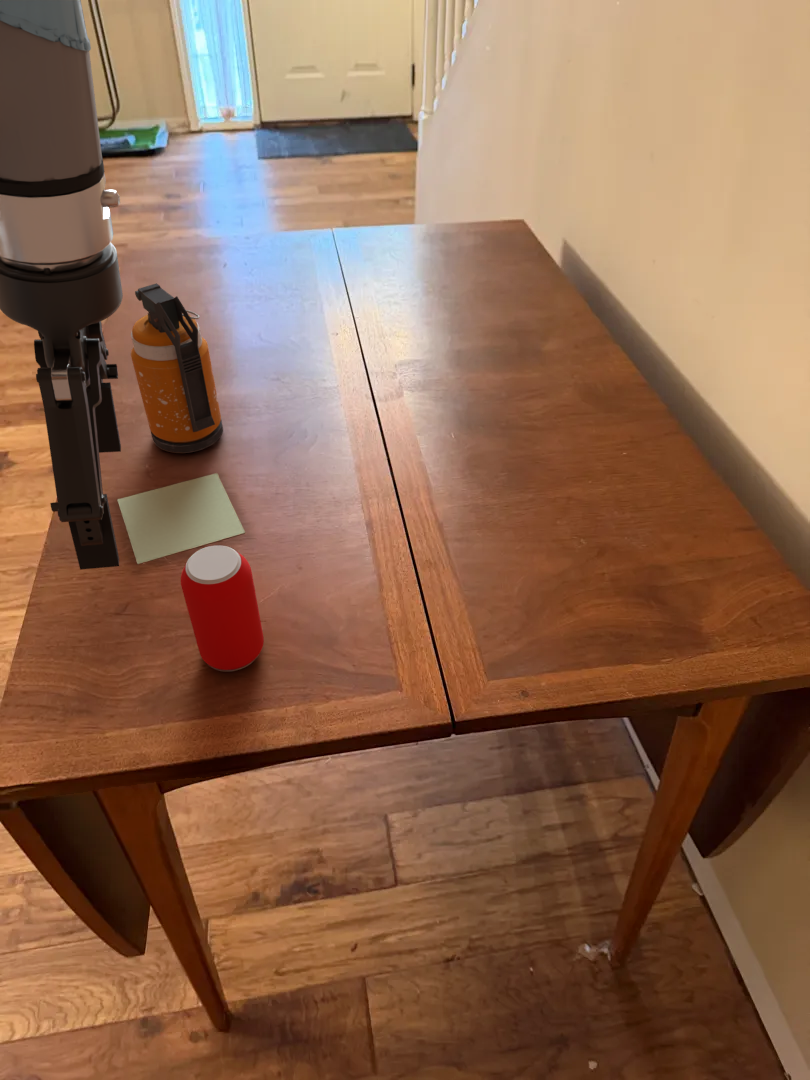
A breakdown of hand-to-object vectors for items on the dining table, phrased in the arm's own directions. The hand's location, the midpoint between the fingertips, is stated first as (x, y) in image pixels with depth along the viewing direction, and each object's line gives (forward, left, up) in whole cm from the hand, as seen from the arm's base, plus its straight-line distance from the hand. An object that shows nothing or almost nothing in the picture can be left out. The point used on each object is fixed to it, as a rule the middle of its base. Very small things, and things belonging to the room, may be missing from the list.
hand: (102, 503), depth 62 cm
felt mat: (+7, +19, -19) cm, 28 cm away
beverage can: (+7, -3, -19) cm, 21 cm away
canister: (+12, +33, -19) cm, 40 cm away
